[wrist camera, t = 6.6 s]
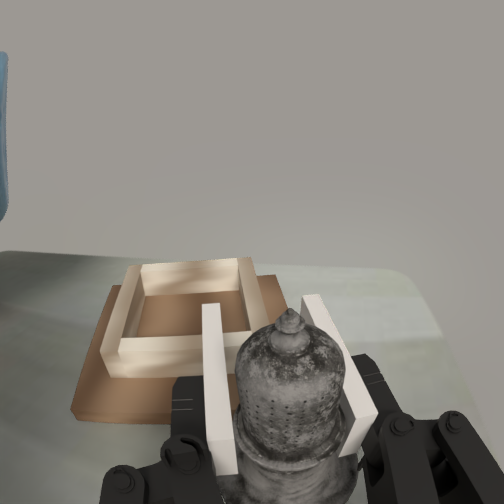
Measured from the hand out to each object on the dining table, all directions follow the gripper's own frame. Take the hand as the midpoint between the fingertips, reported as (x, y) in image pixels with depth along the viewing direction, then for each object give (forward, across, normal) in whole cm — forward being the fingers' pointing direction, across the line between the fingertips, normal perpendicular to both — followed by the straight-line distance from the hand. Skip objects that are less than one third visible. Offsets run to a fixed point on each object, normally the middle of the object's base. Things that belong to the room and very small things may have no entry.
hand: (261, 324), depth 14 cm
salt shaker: (-6, 0, -7) cm, 9 cm away
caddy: (+7, -4, -7) cm, 10 cm away
